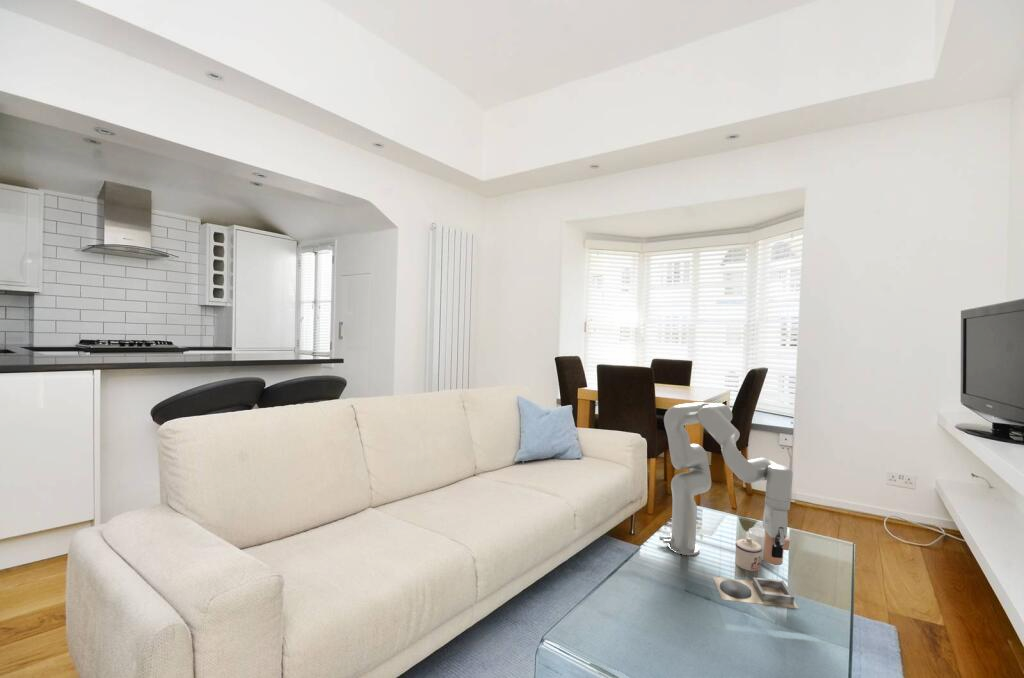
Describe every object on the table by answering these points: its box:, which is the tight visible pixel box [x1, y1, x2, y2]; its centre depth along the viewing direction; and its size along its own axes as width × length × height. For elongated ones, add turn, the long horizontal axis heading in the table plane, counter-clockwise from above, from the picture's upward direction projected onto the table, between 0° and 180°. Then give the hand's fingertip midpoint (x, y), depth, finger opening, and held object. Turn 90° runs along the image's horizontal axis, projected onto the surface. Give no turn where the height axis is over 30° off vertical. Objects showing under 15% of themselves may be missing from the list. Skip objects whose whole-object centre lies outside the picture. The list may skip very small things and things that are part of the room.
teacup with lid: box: [734, 536, 762, 572], centre depth 187 cm, size 12×9×12 cm
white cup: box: [748, 527, 765, 561], centre depth 195 cm, size 8×8×10 cm
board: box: [712, 576, 800, 610], centre depth 169 cm, size 24×14×4 cm, turn 80°
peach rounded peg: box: [762, 529, 790, 566], centre depth 167 cm, size 8×6×10 cm
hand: (773, 551), depth 167 cm, fingers closed on peach rounded peg, 6 cm apart
